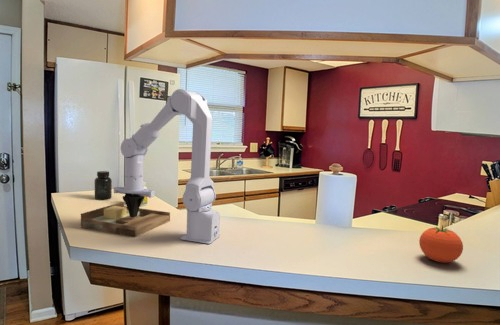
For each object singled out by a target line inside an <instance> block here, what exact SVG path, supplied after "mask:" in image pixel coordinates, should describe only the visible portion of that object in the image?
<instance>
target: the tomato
mask: <svg viewBox="0 0 500 325" xmlns="http://www.w3.org/2000/svg"><path fill="white" fill-rule="evenodd" d="M418 242H419V248H420V250H421V252H422V253H423V254H424V255H425V257H427V258H428V259H430V260H432V261H434V262H437V263H451V262H455V261H456V260H457V259H459V258H460V257H461V255H462V254H463V251H464V245H463V244H464V243H463V241H462V239H461V237H460V236H459V235H458V234H457V232H455V231H453V230H451V229H448V228H447V227H446V228H444V225H441V227H438V226H435V227H431V228H428V229H426V230H424V231H423V232H422V233H421V234H420V236H419V240H418Z"/></svg>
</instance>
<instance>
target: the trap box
mask: <svg viewBox="0 0 500 325" xmlns="http://www.w3.org/2000/svg"><path fill="white" fill-rule="evenodd" d="M112 206H119V207H126V208H127V205H126V206H125V202H124V201H121V202H117V203H114V204H110V205H107V206H103V207H100V208H96V209H93V210H90V211H86V212H83V213H81V214H80V229H85V230H92V231H99V232H104V233H110V234H115V235H121V236H128V237H134V238H136V237H138V236H140V235H143V234H145V233H147V232H149V231H150V230H153V229H155V228H157V227H159V226H162V225H163V224H166V223H168V222H170V221H171V212H169V211H161V210H155V209H146V208H140V207H139V211H138V214H137V216H136V217H130V215H129V211H128V208H127V210H126V216H124V217H121V218H118V219H112V218H105V217H104V209H106V208H109V207H112Z"/></svg>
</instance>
